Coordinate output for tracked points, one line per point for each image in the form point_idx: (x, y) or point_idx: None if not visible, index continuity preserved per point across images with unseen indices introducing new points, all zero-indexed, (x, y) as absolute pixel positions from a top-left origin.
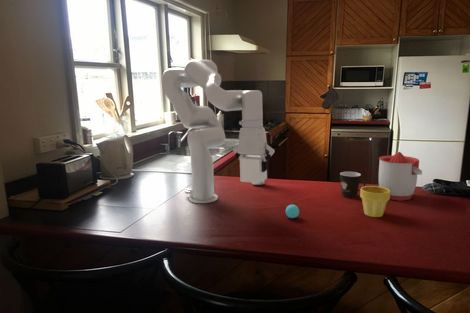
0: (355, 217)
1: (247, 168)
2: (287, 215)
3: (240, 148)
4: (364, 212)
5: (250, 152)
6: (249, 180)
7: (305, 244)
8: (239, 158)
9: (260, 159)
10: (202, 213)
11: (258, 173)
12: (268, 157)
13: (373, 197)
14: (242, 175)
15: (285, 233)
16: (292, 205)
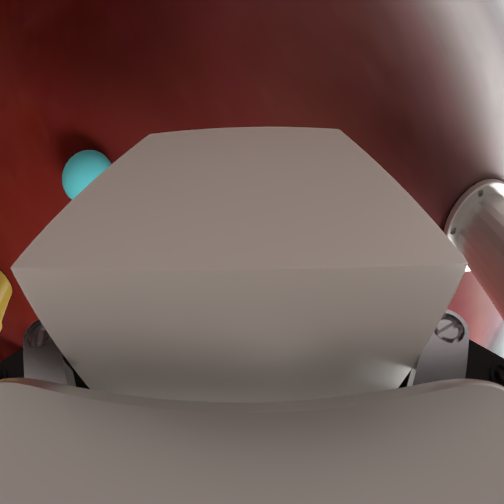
0: (2, 249)
1: (269, 172)
2: (100, 152)
3: (501, 487)
4: (3, 277)
5: (205, 471)
6: (244, 130)
7: (5, 15)
8: (455, 330)
9: (45, 319)
10: (451, 80)
11: (120, 163)
12: (6, 367)
13: None
14: (329, 141)
15: (62, 30)
16: (72, 184)
